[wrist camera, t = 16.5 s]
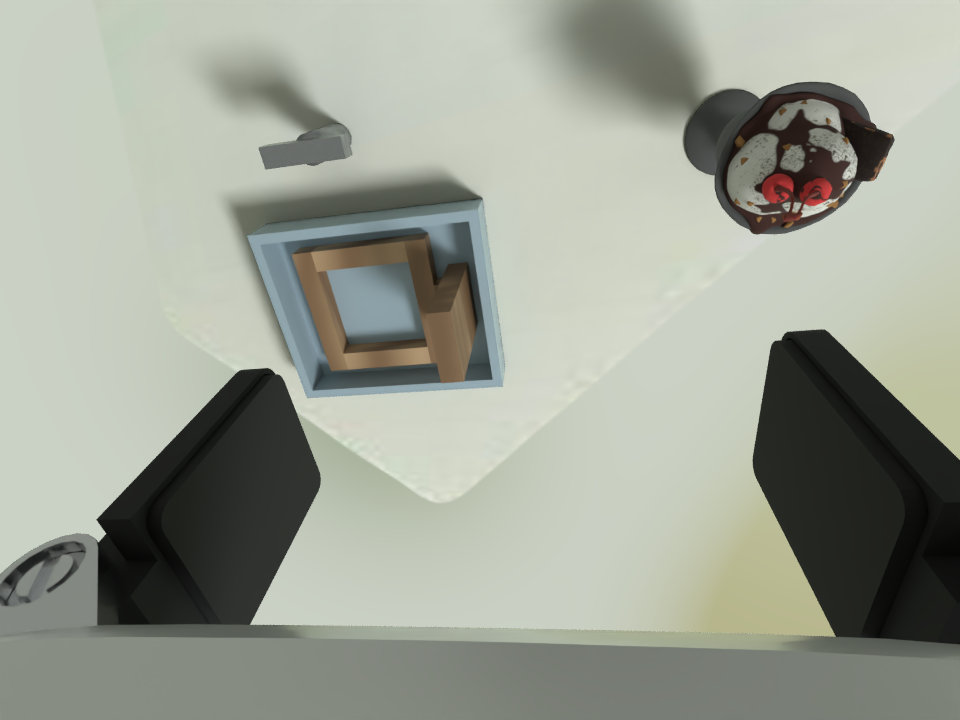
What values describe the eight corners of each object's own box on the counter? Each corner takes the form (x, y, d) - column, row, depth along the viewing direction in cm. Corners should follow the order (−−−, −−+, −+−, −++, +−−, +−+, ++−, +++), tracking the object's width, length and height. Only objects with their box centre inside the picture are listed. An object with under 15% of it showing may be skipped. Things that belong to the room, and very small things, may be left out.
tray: (266, 223, 38) (247, 236, 36) (482, 198, 36) (477, 209, 33) (320, 378, 45) (307, 398, 43) (505, 366, 43) (502, 386, 40)
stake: (300, 128, 35) (256, 142, 29) (370, 118, 34) (338, 130, 29) (308, 156, 36) (267, 174, 30) (376, 147, 35) (347, 163, 30)
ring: (462, 228, 37) (442, 271, 29) (482, 350, 42) (469, 413, 34) (299, 247, 39) (243, 292, 31) (337, 361, 44) (296, 423, 36)
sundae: (651, 168, 34) (717, 238, 21) (707, 56, 30) (828, 59, 18) (741, 204, 34) (859, 294, 22) (806, 98, 31) (994, 130, 18)
